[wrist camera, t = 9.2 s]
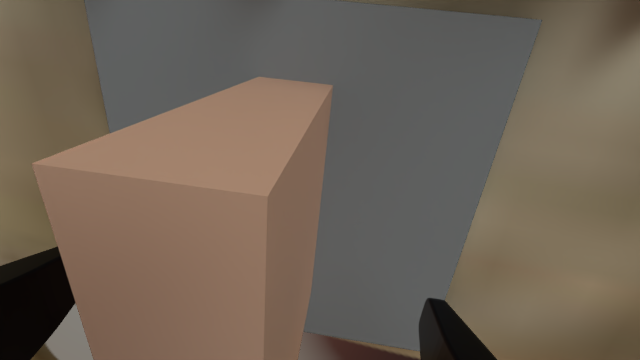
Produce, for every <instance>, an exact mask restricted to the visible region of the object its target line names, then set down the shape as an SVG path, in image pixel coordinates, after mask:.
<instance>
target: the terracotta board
mask: <svg viewBox="0 0 640 360" xmlns="http://www.w3.org/2000/svg"><path fill="white" fill-rule="evenodd" d="M332 91H333V85H328V84H319V83H310V82H301V81H292V80H284V79H275V78H266V77H257V78H254V79H251V80H249V81H246V82H244V83H241V84H238V85H236V86H233V87H230V88H228V89H225V90H223V91H220V92H217V93H215V94H212V95H209V96H207V97H204V98H202V99H199V100H196V101H194V102H191V103H189V104H186V105H183V106H181V107H178V108H175V109H173V110H170V111H168V112H165V113H162V114H160V115H157V116H155V117H152V118H149V119H147V120H144V121H141V122H139V123H136V124H134V125H131V126H128V127H126V128H123V129H121V130H118V131H115V132H113V133H110V134H107V135H105V136H102V137H100V138H97V139H94V140H92V141H89V142H87V143H84V144H81V145H79V146H76V147H73V148H71V149H68V150H66V151H63V152H60V153H58V154H55V155H52V156H50V157H47V158H45V159H42V160H39V161H37V162H34V163H32V166H33V169H34V173H35V176H36V179H37V182H38V185H39V188H40V192H41V195H42V198H43V201H44V204H45V207H46V211H47V214H48V217H49V220H50V223H51V226H52V230H53V233H54V236H55V239H56V242H57V245H58V248H59V252H60V255H61V258H62V261H63V264H64V267H65V271H66V274H67V277H68V280H69V283H70V286H71V290H72V293H73V296H74V299H75V302H76V305H77V309H78V312H79V315H80V318H81V321H82V324H83V328H84V330H85V334H86V337H87V340H88V343H89V346H90V349H91V353H92V356H93V359H94V360H298V355H299V350H300V346H301V341H302V335H303V330H304V325H305V320H306V315H307V310H308V305H309V300H310V295H311V288H312V278H313V269H314V260H315V250H316V241H317V231H318V222H319V213H320V203H321V194H322V185H323V175H324V166H325V156H326V147H327V138H328V128H329V119H330V110H331V100H332Z"/></svg>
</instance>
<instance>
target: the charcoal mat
mask: <svg viewBox="0 0 640 360" xmlns="http://www.w3.org/2000/svg"><path fill="white" fill-rule="evenodd" d="M84 2H85V7H86V12H87V18H88V23H89V28H90V33H91V38H92V43H93V48H94V54H95V59H96V64H97V69H98V74H99V79H100V84H101V89H102V95H103V100H104V105H105V110H106V115H107V120H108V125H109V131H110V133H113V132H115V131H118V130H121V129H123V128H126V127H128V126H131V125H134V124H136V123H139V122H141V121H144V120H147V119H149V118H152V117H155V116H157V115H160V114H162V113H165V112H168V111H170V110H173V109H175V108H178V107H181V106H183V105H186V104H189V103H191V102H194V101H196V100H199V99H202V98H204V97H207V96H209V95H212V94H215V93H217V92H220V91H223V90H225V89H228V88H230V87H233V86H236V85H238V84H241V83H244V82H246V81H249V80H251V79H254V78H257V77H266V78H275V79H284V80H292V81H301V82H310V83H319V84H328V85H333V91H332V100H331V110H330V119H329V128H328V138H327V147H326V156H325V166H324V175H323V185H322V194H321V203H320V213H319V222H318V231H317V241H316V250H315V260H314V269H313V278H312V288H311V295H310V300H309V305H308V310H307V315H306V320H305V325H304V330H303V332H308V333H314V334H320V335H326V336H332V337H338V338H344V339H350V340H356V341H362V342H367V343H373V344H379V345H385V346H391V347H397V348H403V349H409V350H415V351H420V343H419V320H420V317H421V313H422V310H423V307H424V304H425V301H426V299H427V298H436V299H442V300H444V301H445V298H446V295H447V292H448V289H449V286H450V283H451V280H452V278H453V275H454V272H455V269H456V266H457V263H458V260H459V257H460V255H461V252H462V249H463V246H464V243H465V240H466V237H467V235H468V232H469V229H470V226H471V223H472V220H473V217H474V214H475V212H476V209H477V206H478V203H479V200H480V197H481V194H482V191H483V189H484V186H485V183H486V180H487V177H488V174H489V171H490V169H491V166H492V163H493V160H494V157H495V154H496V151H497V148H498V146H499V143H500V140H501V137H502V134H503V131H504V128H505V125H506V123H507V120H508V117H509V114H510V111H511V108H512V105H513V102H514V100H515V97H516V94H517V91H518V88H519V85H520V82H521V80H522V77H523V74H524V71H525V68H526V65H527V62H528V59H529V57H530V54H531V51H532V48H533V45H534V42H535V39H536V36H537V34H538V31H539V28H540V25H541V22H542V20H537V19H527V18H516V17H506V16H495V15H485V14H474V13H463V12H453V11H442V10H432V9H421V8H411V7H400V6H389V5H379V4H368V3H358V2H347V1H337V0H84Z"/></svg>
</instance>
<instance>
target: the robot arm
mask: <svg viewBox="0 0 640 360" xmlns="http://www.w3.org/2000/svg"><path fill="white" fill-rule="evenodd" d="M75 303H76V302H75V299H74V296H73V293H72V290H71V286H70V283H69V280H68V277H67V274H66V271H65V267H64V264H63V261H62V258H61V255H60V252H59V248H58V247H55V248H52V249H49V250H46V251H43V252H40V253H37V254H34V255H31V256H28V257H26V258H23V259H20V260H17V261H14V262H11V263H8V264H5V265H2V266H0V360H31V358H32V357H33V356H34V355H35V354H36V353H37V351H38V350H39V349H40V348H41V347H42V346H43V344H44V343H45V342H46V341H47V340H48V338H49V337H50V336H51V335H52V334H53V332H54V331H55V330H56V329H57V327H58V326H59V325H60V323H61V322H62V321H63V319H64V318H65V316H66V315H67V314H68V312H69V311H70V310H71V308H72V307H73V305H74V304H75ZM419 343H420V356H421V360H497V359H496V358H495V357H494V355H493V354H492V353H491V352H490V351H489V350H488V349H487V347H486V346H485V345H484V344H483V343H482V342H481V341H480V340H479V338H478V337H477V336H476V335H475V334H474V333H473V332H472V331H471V329H470V328H469V327H468V326H467V325H466V324H465V323H464V321H463V320H462V319H461V318H460V317H459V316H458V315H457V314H456V312H455V311H454V310H453V309H452V308H451V307H450V306H449V305H448V303H447V302H446V301H444V300H442V299H436V298H427V299H426V301H425V304H424V307H423V310H422V313H421V317H420V320H419Z"/></svg>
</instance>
